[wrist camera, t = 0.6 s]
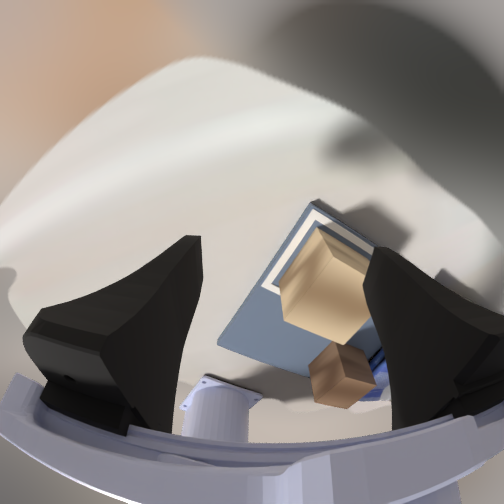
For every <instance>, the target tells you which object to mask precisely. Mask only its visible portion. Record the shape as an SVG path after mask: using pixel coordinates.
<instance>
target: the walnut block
mask: <svg viewBox="0 0 504 504" xmlns="http://www.w3.org/2000/svg"><path fill="white" fill-rule="evenodd" d="M308 367H309V373H310V378H311V384H312V390H313V395H314V401H315V403H320V404H324V405H329V406H334V407H339V408H344V409H348V408H349V407H350V406H352V405H353V404H354V403H356V402H357V401H358V400H359V399H361V398H362V397H363V396H365V395H366V394H367V393H368V392H370V391H371V390H372V389H373V388H374V387H376V386H377V384H376V382H375V379H374V376H373V374H372V371H371V368H370V366H369V363H368V361H367V358H366V355H365V353H364V350H361V349H358V348H356V347H353V346H351V345H348V344H346V343H345V344H344V345H342V344H339V343H337V342H334V341H332V342H331V343H330V344H329V345H328V346H327V347H326V348H325V349H324V350H323V351H322V352H321V353H320V354H319V355H318V356H317V357H316V358H315V359H314V360H313V361H312V362H311V363H310V364H309V365H308Z"/></svg>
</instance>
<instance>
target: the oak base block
mask: <svg viewBox="0 0 504 504" xmlns="http://www.w3.org/2000/svg"><path fill="white" fill-rule="evenodd" d="M369 263H370V261H369V260H368V258H366V257H364V256H363V255H361V254H360V253H358V252H357V251H355V250H353V249H352V248H350V247H349V246H347V245H345V244H344V243H342V242H341V241H339V240H337V239H336V238H334V237H332V236H331V235H329V234H327V233H326V232H324V231H322V230H321V229H319V228H317V227H316V228H315V230H314V231H313V233H312V234H311V236H310V237H309V239H308V240H307V242H306V243H305V245H304V246H303V247H302V249H301V250H300V252H299V253H298V255H297V256H296V258H295V259H294V260H293V262H292V263H291V265H290V266H289V268H288V269H287V270H286V272H285V273H284V275H283V276H282V277H281V279H280V280H279V289H280V296H281V303H282V311H283V319H284V321H286V322H288V323H290V324H293V325H295V326H297V327H300V328H302V329H305V330H307V331H309V332H312V333H314V334H317V335H319V336H322V337H324V338H327V339H329V340H332V341H334V342H337V343H339V344H342V345H344V344H345V343H346V342H347V341H348V340H349V339H350V338H351V337H352V336H353V335H354V334H355V333H356V332H357V331H358V330H359V329H360V327H361V326H362V325H363V324H364V323H365V322H366V321H367V320H368V319H369V318H370V317H371V315H370V312H369V309H368V307H367V303H366V299H365V295H364V291H363V286H362V284H363V281H364V278H365V275H366V272H367V269H368V266H369Z"/></svg>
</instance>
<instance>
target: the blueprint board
mask: <svg viewBox="0 0 504 504" xmlns="http://www.w3.org/2000/svg"><path fill="white" fill-rule="evenodd" d="M316 227H317V228H319V229H321V230H322V231H324V232H326V233H327V234H329V235H331V236H332V237H334V238H336V239H337V240H339V241H341V242H342V243H344V244H345V245H347V246H349V247H350V248H352V249H353V250H355V251H357V252H358V253H360V254H361V255H363V256H364V257H366V258H368V260H369V261H370V260H371V257H372V253H373V250H374V247H378V246H377V245H375V244H374V243H372V242H371V241H369V240H368V239H367V238H365V237H364V236H362V235H361V234H359V233H358V232H356V231H355V230H353V229H352V228H350V227H348V226H347V225H345V224H344V223H342V222H341V221H339V220H338V219H336V218H335V217H333V216H331V215H330V214H328V213H327V212H325V211H323V210H322V209H320V208H319V207H317V206H315V205H314V204H312V203H309V205H308V206H307V208H306V209H305V211H304V212H303V214H302V215H301V217H300V218H299V220H298V221H297V223H296V225H295V226H294V228H293V229H292V231H291V232H290V234H289V235H288V237H287V238H286V240H285V241H284V243H283V244H282V246H281V247H280V249H279V250H278V252H277V253H276V255H275V256H274V258H273V259H272V261H271V262H270V264H269V265H268V267H267V268H266V270H265V271H264V273H263V274H262V276H261V277H260V279H259V280H258V282H257V283H256V285H255V286H254V287H253V289H252V290H251V292H250V293H249V295H248V296H247V298H246V299H245V301H244V302H243V304H242V305H241V307H240V308H239V309H238V311H237V312H236V314H235V315H234V317H233V318H232V320H231V321H230V322H229V324H228V325H227V327H226V328H225V330H224V331H223V333H222V334H221V335H220V337H219V338H218V341H217V345H219V346H221V347H223V348H226V349H228V350H231V351H234V352H236V353H239V354H241V355H244V356H247V357H249V358H252V359H255V360H258V361H260V362H263V363H266V364H269V365H272V366H275V367H278V368H281V369H284V370H287V371H290V372H293V373H296V374H299V375H302V376H306V377H309V378H310V373H309V367H308V365H309V364H310V363H311V362H312V361H313V360H314V359H315V358H316V357H317V356H318V355H319V354H320V353H321V352H322V351H323V350H324V349H325V348H326V347H327V346H328V345H329V344H330V343H331V342H332V340H329V339H327V338H324V337H322V336H319V335H317V334H314V333H312V332H309V331H307V330H305V329H302V328H300V327H297V326H295V325H293V324H290V323H288V322H286V321H284V319H283V311H282V303H281V296H280V289H279V280H280V279H281V277H282V276H283V275H284V273H285V272H286V270H287V269H288V268H289V266H290V265H291V263H292V262H293V260H294V259H295V258H296V256H297V255H298V253H299V252H300V250H301V249H302V247H303V246H304V245H305V243H306V242H307V240H308V239H309V237H310V236H311V234H312V233H313V231H314V230H315V228H316ZM346 344H348V345H351V346H353V347H356V348H358V349H361V350H364V353H365V355H366V358H367V361H368V360H369V359H370V358H371V357H372V356H373V355H374V354H375V353H376V352H377V351H378V350H379V349H380V348H381V347H382V345H381V342H380V339H379V336H378V333H377V331H376V328H375V325H374V323H373V320H372V317H370V318H369V319H368V320H367V321H366V322H365V323H364V324H363V325H362V326H361V327H360V329H359V330H358V331H357V332H356V333H355V334H354V335H353V336H352V337H351V338H350V339H349V340H348V341H347V342H346Z"/></svg>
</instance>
